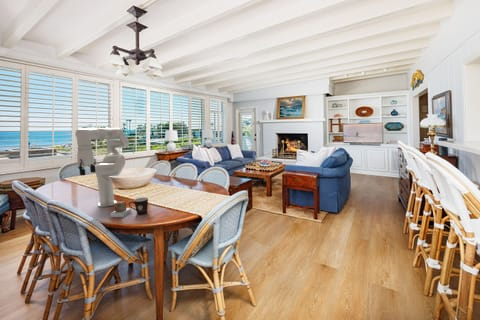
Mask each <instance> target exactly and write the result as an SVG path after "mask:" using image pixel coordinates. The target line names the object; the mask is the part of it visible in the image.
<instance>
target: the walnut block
mask: <svg viewBox="0 0 480 320" xmlns="http://www.w3.org/2000/svg"><path fill="white" fill-rule="evenodd" d="M116 201H117V200H116ZM113 206H114V207H113V208H114V211H115V212H123V211H125V210H126V208H127V203H126V200H118V201H117V202H116V203H114V205H113Z"/></svg>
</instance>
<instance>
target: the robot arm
mask: <svg viewBox="0 0 480 320" xmlns="http://www.w3.org/2000/svg"><path fill="white" fill-rule="evenodd" d="M74 133H75V135H74V136H75V138H76V143H77V155H76V157H77V158H76V159H77V162H76V163H75V165H76V166H77V169H78V170H79V176H86V170H85V167H87V166H89V170H90V173H94V174H95V177H96V181H97V187H98V197H99V202H98V204H97V207H99V208H106V207H111V206H114V203H116V202H117V200H115V197H114V196H115V195H114V186H113V185H114V184H113V180H112V178H111V177H115V176H117V177H118V176H119V175H120V174H121V173H122V171H123V169H124V167H125V165H126V158H125V156H124V155H122V154H120V152H119V151H118V150H117V149H122V148H123V149H125V148H129V145H130V141H129V139H128V136H127V135H126V134H125V132H124V131H123V129H121V128H119V127H113V128H112V127H111V128H109V127H105V128H104V127H98V128H78V129H76V130H75V132H74ZM92 140H95V141H96V140H99V141H100V140H106V143H105V144H106V148H107V152H106V154H105V156H104V157H103V159H102V163H98V164H97V159H96V158H95V156H94V152H93V147H92Z"/></svg>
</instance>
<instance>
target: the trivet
mask: <svg viewBox="0 0 480 320" xmlns="http://www.w3.org/2000/svg"><path fill="white" fill-rule="evenodd" d="M131 213H132V208H131V207H130V208H127V207H126V210H125V211H123V212H115V210H113V211H112V212H110V213H109V214H110V218H124V217H126V216H128V215H129V214H131Z"/></svg>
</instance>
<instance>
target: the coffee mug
mask: <svg viewBox="0 0 480 320" xmlns="http://www.w3.org/2000/svg"><path fill="white" fill-rule="evenodd" d="M131 203H133V205H134V206H135V208H134V207H132V206H131ZM128 207H130V208H131V210H132V209H133V210H134V211H135V212H136V215H137V216H145V215H148V207H149V198H148V197H137V198H135V199H134V200H133V201H130V202H129V203H128Z"/></svg>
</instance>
